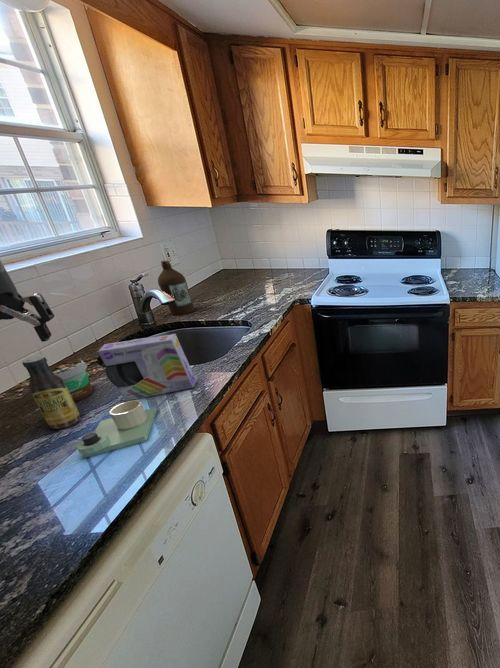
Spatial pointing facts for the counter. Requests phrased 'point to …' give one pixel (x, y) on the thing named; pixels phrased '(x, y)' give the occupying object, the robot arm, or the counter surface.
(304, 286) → the counter surface
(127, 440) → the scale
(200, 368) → the counter surface
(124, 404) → the bowl
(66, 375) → the food container
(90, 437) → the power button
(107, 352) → the cake pan box
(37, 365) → the sauce bottle
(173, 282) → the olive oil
